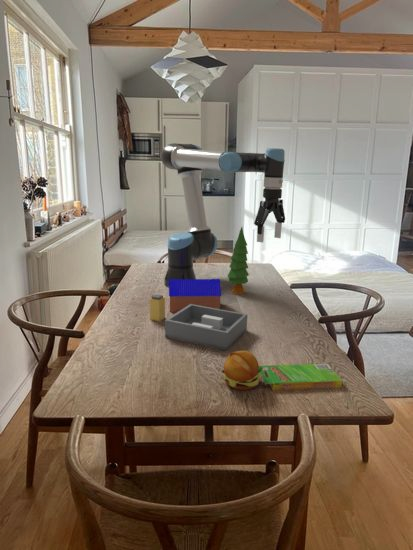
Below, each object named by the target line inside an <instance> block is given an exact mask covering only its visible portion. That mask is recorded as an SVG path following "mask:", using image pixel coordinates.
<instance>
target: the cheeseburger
mask: <svg viewBox="0 0 413 550" xmlns="http://www.w3.org/2000/svg"><path fill="white" fill-rule="evenodd" d="M260 366H261V365H259V362H258V359H257V358H256V356H255V355H254V354H253V353H251V352H250V351H249V350H238V351H237V350H236V351H232V352H231V353H229V354H228V356H227V357H226V360H225V362H224V364H223V369H222V370H221V374H222V377H223V379H224V381H225V383H226V385H227V386H229V387H231V388H234V389H236V390H242V391H243V390H244V391H245V390H252V389H254V388H257V386H258V385H259V383H260V378H261V376H262V375H261V370H262V369H263V368H262V367H260Z"/></svg>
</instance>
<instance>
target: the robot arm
mask: <svg viewBox="0 0 413 550" xmlns="http://www.w3.org/2000/svg"><path fill="white" fill-rule="evenodd" d="M285 155H286V154H285V149H283V148H275V147H274V148H272V147H271V148H269V147H268V148H266V150H265V153H260V152H259V153H258V152H237V151H236V152H235V151H222V150H221V151H219V150H206V149H202V148H201V147H200V146H198V145H197V144H193V143H176V142H175V143H169V144H167V145H165V146H164V147H163V148H162V150H161V153H160V159H161V162H162V165H163V166H164V167H166V168H167V169H169V170H176V171H177V175H178V176H179V177H180V178H181V182H182V187H183V188H182V189H183V195H184V196H183V197H184V200H185V201H184V202H185V207H186V214H187V223H188V229H187V231H186V232H181V233H180V232H177V233H174V234H172V235H170V236H169V237H168V240H167V270H166V273H165V277H164V280H163V281H164V285H165V286H166V287H168V288H169V279H197V277H196V273H195V270H194V260H197V259H202V258H208V257H210V256H213V255H214V253H215V252H216V250H217V248H218V240H217V236H216V235H215V234H214V233H213V232H212V230H211V228H210V227H209V226H208V223H207V218H206V210H205V205H204V204H205V203H204V196H203V191H202V184H201V183H202V182H201V177H200V175H201V174H202V172H203V170H213V171H220V172H226V173H264V174H263V175H264V176H263V186H262V187H264V188H263V189H262V197H263V199H265V200H260V201H259V207H258V210H257V212H256V213H257V214H256V217H255V220H254V223H253V224H254V225H255V226H257V227H256V228H257V230H256V234H257V235H256V242H257V243H264V237H265V225H264V224H265V222H266V221H267V218H268V216H269V214H270V213H273V215H274V218H275V220H276V222H274V223H275V225H274V237H273V238H276V239H281V238H282V225H283V224H284V223H285V221H286V216H285V215H286V214H285V210H284V200H283V199H281V198H282V195H283V194H282V193H283V190H282V188H283V182H284V179H283V178H284V167H285Z"/></svg>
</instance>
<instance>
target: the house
mask: <svg viewBox="0 0 413 550" xmlns="http://www.w3.org/2000/svg"><path fill="white" fill-rule="evenodd" d="M168 297H169V313H177V312H179V311H180V310H182V309H183V308H185V307H187V306H188V305H190V304H193V305H199V306H204V307H210V308H215V309H221V297H222V290H221V280H220V278H218V279H217V278H211V279H210V278H205V279H204V278H203V279H202V278H196V279H169V287H168Z"/></svg>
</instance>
